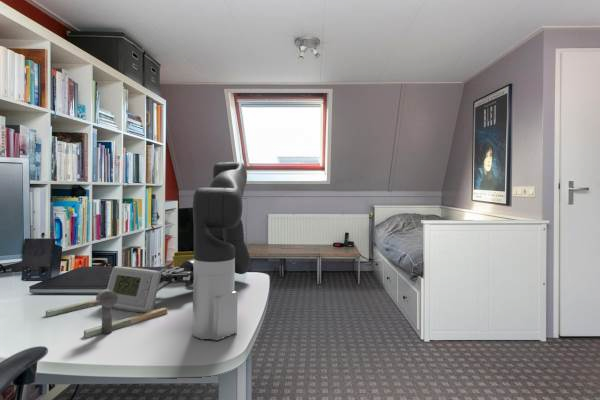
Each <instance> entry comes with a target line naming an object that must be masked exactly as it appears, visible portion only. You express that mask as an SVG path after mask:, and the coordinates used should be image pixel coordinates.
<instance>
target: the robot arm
mask: <svg viewBox="0 0 600 400" xmlns="http://www.w3.org/2000/svg"><path fill="white" fill-rule="evenodd" d="M212 176H213V180H212V182H211V184H210V187H198V188H197V189H196V190H195V191H194V194H193V198H192V217H193V218H192V220H193V224H192V225H193V252H194V259H193V260H187V261H184V262H183V263H182V265H181V266H180V268H179V267H172V268H169V269H168V268H167V267H163V268H161V269H160V270H158V271H159V272H160V273H161V277H160V282H159V284H161V283H163V284H170V285H172V284H182V283H183V284H186V285H193V286H192V287H193V288H192V336H193V337H195V338H196V337H197V339H199V338H200V340H204V339H214V340H213V341H215V340H219V339H221V338H223V337H226V336H228V335H230V336H232V335H231V334H233V333H235V334H237V333H238V296H239V295H238V292H237V291H236V290H235V274H237V275H244V274H246V273H247V272H248V271H249V270H250V267H251V258H250V253H249V250H248V247H247V245H246V242H245V234H244V225H243V222H242V215H243V195H244V193H245V187H246V185H247V181H248V172H247V168H246V166H245V164H244V163H243V162H241V161H224V162H217V163H215V164H214V165H213V169H212ZM210 229H222V233H223V234H222V235H223V240H221V239H220V238H218V237H216V236H214V235H213V234H212V233H211V232H210ZM236 332H237V333H236ZM233 335H234V334H233ZM228 337H229V336H228ZM226 338H227V337H226ZM223 339H224V338H223ZM221 340H222V339H221ZM219 341H220V340H219Z"/></svg>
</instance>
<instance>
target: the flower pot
mask: <svg viewBox="0 0 600 400" xmlns="http://www.w3.org/2000/svg"><path fill="white" fill-rule="evenodd" d="M193 259H194V251H174V252H172V265H173V267H172V268H174V267H179V268H180V266H181V265H182V263H183V262H184V261H187V260H193Z"/></svg>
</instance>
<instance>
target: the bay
mask: <svg viewBox="0 0 600 400" xmlns="http://www.w3.org/2000/svg"><path fill="white" fill-rule="evenodd" d="M117 299H118V296H117V294H116V293H115V292H113V291H110V290H107V288H106V289H103V290H100V291H99V292H98V293H97V295H96V299H91V300H87V301H83V302H77V303H74V304H70V305H69V304H68V305H65V306H60V307H55V308H52V309H48V310H45V316H46V317H48V318H49V317H52V316H57V315H60V314H61V315H62V314H65V313H68V312H74V311H78V310H81V309H85V308H90V307H94V306H98V305H99V306H101V325H99V326H95V327H92V328H89V329H84V330H83V337H84V338H87V339H88V338H90V337H94V336H97V335H100V334H102V335H109V334H112V332H113V330H117V329H120V328H124V327H127V326H130V325H133V324H137V323H140V322H144V321H146V320H151V319H154V318H156V317H160V316H163V315H165V314H167V315H168V311H169V310H168V307H167V308H166V307H161V308H157V309H155V310H152V311H150V312H147V313H145V312H142V313H141V314H137V315H133V316H131V317H127V318H123V319H119V320H116V321H113V307H112V306H114V305H115V304H116V302H117Z"/></svg>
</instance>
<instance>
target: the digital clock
mask: <svg viewBox="0 0 600 400" xmlns="http://www.w3.org/2000/svg"><path fill="white" fill-rule="evenodd" d="M159 271H160V270H154V269H153V270H152V269H149V268H141V267H133V266H119V265H116V266H114V267H113V268H112V270H111V273H110V275H109V280H108V283H107V287H106V289H107V290H110V291H113V292H115V293H116V294H117V296H118V299H117V302H116V304H115V305H114V306H112V309H115V310H116V309H117V310H122V311H129V312H136V313H147V312H150V311H153V309H154V307H155V306H156V301H157V298H156V297H157V293H158V290H159V286H160V283H159V282H160V277H161V273H160V272H159Z"/></svg>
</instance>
